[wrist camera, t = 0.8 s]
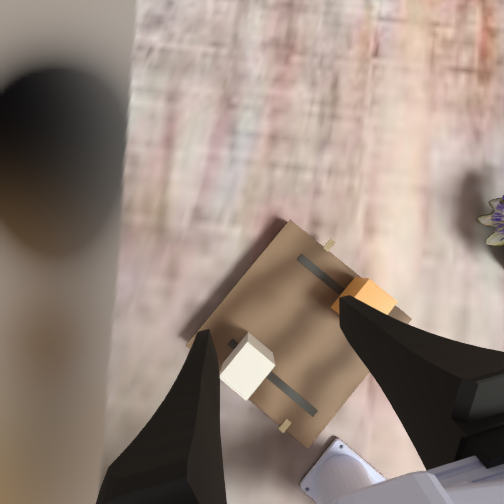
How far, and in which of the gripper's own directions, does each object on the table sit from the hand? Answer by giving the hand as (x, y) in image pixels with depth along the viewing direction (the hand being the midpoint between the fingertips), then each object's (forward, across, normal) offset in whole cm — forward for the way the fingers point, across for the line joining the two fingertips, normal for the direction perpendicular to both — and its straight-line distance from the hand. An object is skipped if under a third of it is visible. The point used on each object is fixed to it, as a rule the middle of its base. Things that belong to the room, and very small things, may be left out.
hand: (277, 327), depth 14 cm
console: (+16, -5, +15) cm, 22 cm away
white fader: (+13, +2, +16) cm, 21 cm away
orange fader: (+14, -12, +12) cm, 22 cm away
